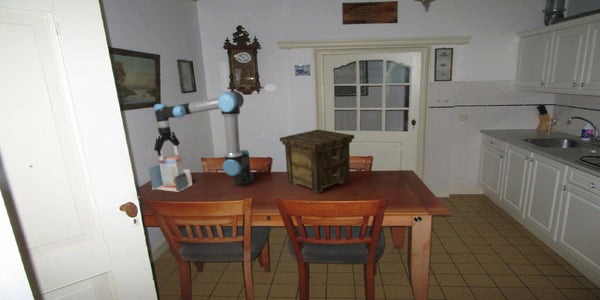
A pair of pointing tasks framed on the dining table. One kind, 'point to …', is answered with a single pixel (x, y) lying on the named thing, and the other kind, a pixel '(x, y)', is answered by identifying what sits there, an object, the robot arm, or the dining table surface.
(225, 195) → the dining table surface
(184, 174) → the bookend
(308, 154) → the wooden drawer cabinet
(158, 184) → the book rack
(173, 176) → the cracker box
